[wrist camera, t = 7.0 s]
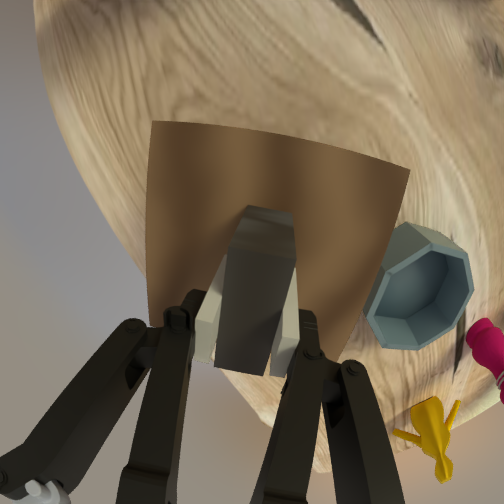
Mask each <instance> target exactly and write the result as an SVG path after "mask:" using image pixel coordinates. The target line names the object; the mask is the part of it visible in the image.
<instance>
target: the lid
mask: <svg viewBox="0 0 504 504" xmlns="http://www.w3.org/2000/svg"><path fill="white" fill-rule="evenodd" d="M409 174H410V170H409V169H407V168H404V167H401V166H398V165H395V164H392V163H389V162H386V161H383V160H380V159H377V158H374V157H370V156H367V155H364V154H360V153H357V152H353V151H350V150H346V149H342V148H338V147H335V146H331V145H327V144H322V143H318V142H314V141H309V140H305V139H300V138H295V137H290V136H285V135H280V134H275V133H269V132H263V131H257V130H250V129H243V128H236V127H228V126H220V125H211V124H200V123H188V122H172V121H152V129H151V138H150V148H149V159H148V173H147V192H146V277H147V294H148V309H149V321H150V326H153V327H163V326H164V320H163V312H164V311H165V309H167V308H169V307H171V306H180V305H181V304H182V302H183V300H184V298H185V296H186V295H187V293H188V292H189V291H191V290H192V289H198V290H202V291H207V292H208V290H209V288H210V285H211V283H212V281H213V279H214V277H215V274H216V272H217V270H218V268H219V266H220V264H221V261H222V259H223V257H224V255H225V254H227V260H226V267H225V275H224V283H223V291H222V301H221V310H220V318H219V327H218V335H217V339H216V351H215V360H214V367H217V368H222V369H226V370H231V371H236V372H241V373H247V374H252V375H258V376H263V375H264V372H265V368H266V365H267V362H268V359H269V356H270V353H271V351H272V345H273V341H274V338H275V335H276V331H277V328H278V324H279V321H280V317H281V314H282V310H283V308H284V305H285V301H286V298H287V294H288V290H289V287H290V283H291V279H292V276H293V272H294V268H296V281H297V297H298V309H304V310H310V311H312V312H313V313H314V314H315V316H316V318H317V326H318V334H319V342H320V349H322V350H323V352H324V353H325V357H326V358H328V359H329V360H331V361H334V362H337V360H338V358H339V356H340V354H341V353H342V351H343V349H344V347H345V345H346V343H347V341H348V339H349V337H350V335H351V333H352V331H353V329H354V326H355V324H356V322H357V320H358V318H359V316H360V314H361V311H362V309H363V307H364V305H365V302H366V300H367V298H368V295H369V293H370V291H371V288H372V286H373V283H374V281H375V279H376V276H377V273H378V271H379V268H380V266H381V263H382V260H383V258H384V255H385V252H386V250H387V247H388V244H389V241H390V238H391V235H392V232H393V229H394V226H395V223H396V220H397V217H398V213H399V210H400V207H401V203H402V200H403V196H404V193H405V189H406V185H407V182H408V178H409Z"/></svg>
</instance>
